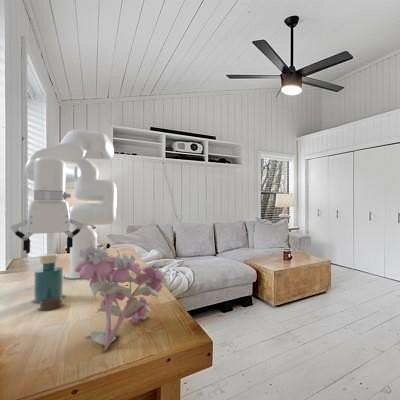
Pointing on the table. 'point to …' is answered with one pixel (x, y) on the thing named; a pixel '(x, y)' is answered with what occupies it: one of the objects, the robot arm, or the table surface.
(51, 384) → the table surface
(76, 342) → the table surface
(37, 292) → the bottle
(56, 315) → the table surface
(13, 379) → the table surface
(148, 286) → the flower
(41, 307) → the brown round puck
